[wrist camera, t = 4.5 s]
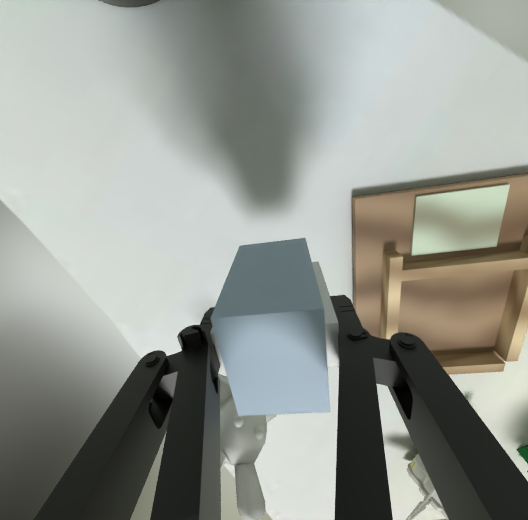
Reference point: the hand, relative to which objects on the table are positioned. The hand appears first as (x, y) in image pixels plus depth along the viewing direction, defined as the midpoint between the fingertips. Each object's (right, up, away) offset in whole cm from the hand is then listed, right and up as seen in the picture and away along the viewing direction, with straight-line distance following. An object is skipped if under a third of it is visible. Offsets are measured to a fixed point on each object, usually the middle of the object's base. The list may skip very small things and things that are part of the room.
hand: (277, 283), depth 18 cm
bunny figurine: (-3, -14, +17) cm, 22 cm away
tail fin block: (0, 0, 0) cm, 0 cm away
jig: (+19, -1, +10) cm, 22 cm away
